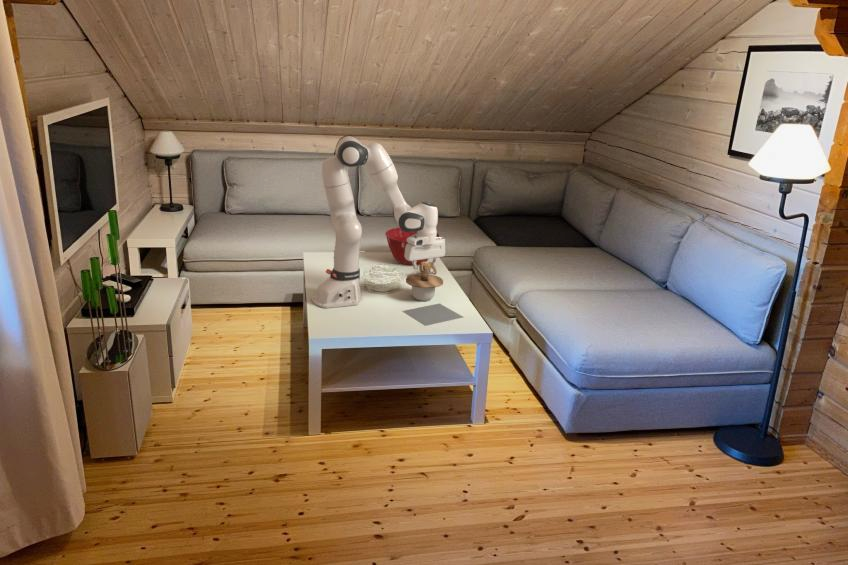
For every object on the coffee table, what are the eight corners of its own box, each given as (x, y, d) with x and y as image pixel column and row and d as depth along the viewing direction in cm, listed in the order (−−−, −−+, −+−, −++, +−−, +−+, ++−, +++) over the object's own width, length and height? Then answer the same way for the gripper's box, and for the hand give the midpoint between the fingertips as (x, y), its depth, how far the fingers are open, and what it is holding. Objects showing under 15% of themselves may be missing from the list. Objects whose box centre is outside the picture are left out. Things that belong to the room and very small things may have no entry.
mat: (425, 326, 275) (425, 325, 275) (402, 311, 289) (402, 311, 289) (463, 318, 286) (463, 317, 286) (439, 304, 300) (439, 303, 300)
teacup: (432, 304, 299) (433, 287, 296) (408, 301, 301) (409, 285, 298) (437, 294, 312) (438, 278, 309) (414, 291, 314) (415, 275, 311)
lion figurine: (425, 281, 329) (426, 263, 326) (416, 279, 331) (417, 261, 328) (438, 273, 341) (439, 256, 338) (429, 271, 343) (430, 254, 340)
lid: (419, 290, 293) (420, 280, 291) (398, 278, 306) (399, 269, 304) (450, 284, 302) (451, 274, 300) (428, 273, 315) (429, 263, 313)
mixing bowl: (433, 272, 342) (435, 243, 337) (379, 266, 346) (380, 238, 341) (440, 256, 369) (442, 229, 363) (390, 251, 372) (391, 224, 367)
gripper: (441, 234, 305) (438, 263, 310) (403, 238, 294) (401, 268, 299) (449, 237, 300) (446, 267, 305) (411, 242, 289) (409, 272, 294)
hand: (424, 267), depth 302 cm, fingers open, 8 cm apart
